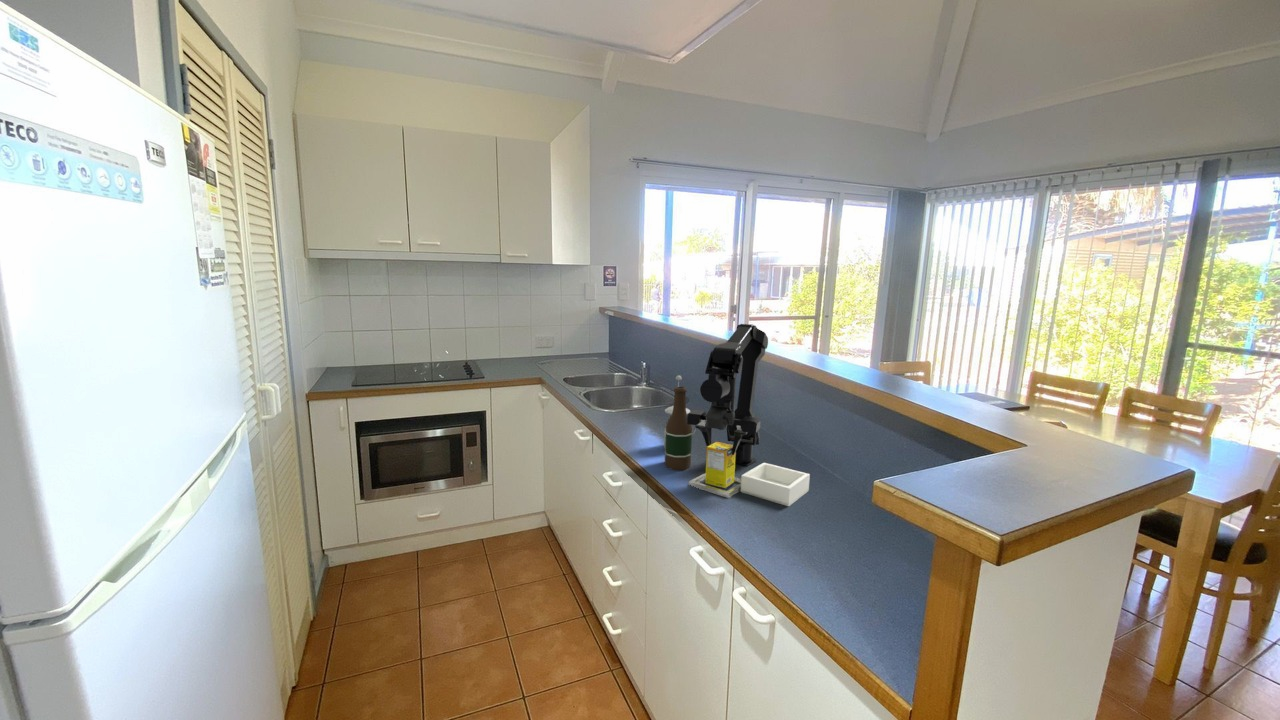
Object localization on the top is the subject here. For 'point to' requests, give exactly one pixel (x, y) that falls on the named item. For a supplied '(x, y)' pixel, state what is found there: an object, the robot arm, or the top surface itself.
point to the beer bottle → (678, 434)
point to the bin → (775, 483)
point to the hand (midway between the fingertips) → (721, 452)
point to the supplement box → (720, 466)
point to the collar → (715, 490)
